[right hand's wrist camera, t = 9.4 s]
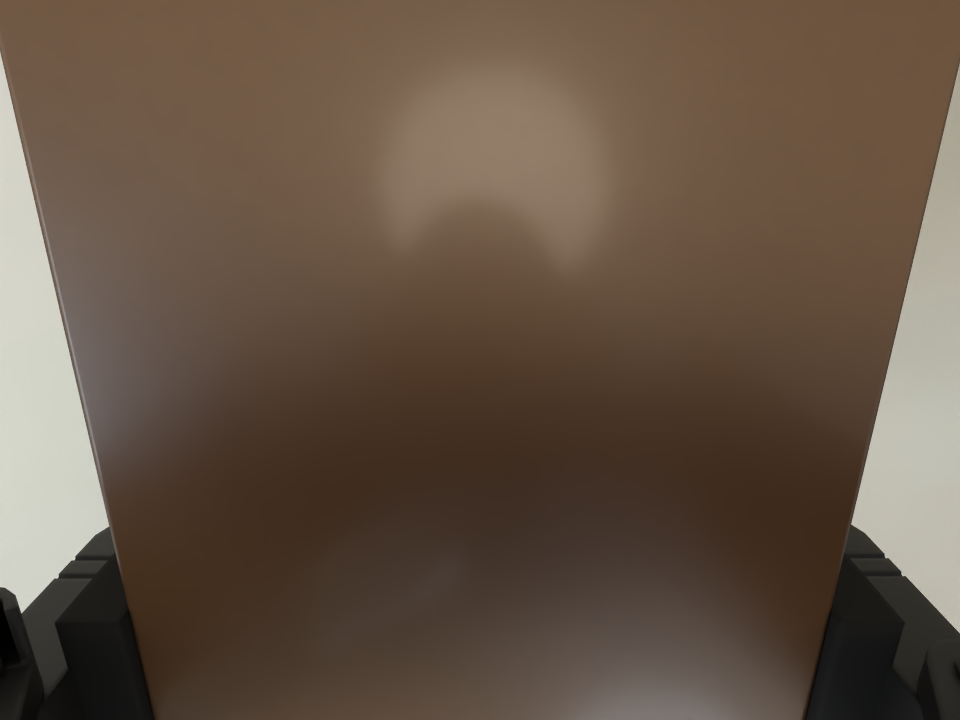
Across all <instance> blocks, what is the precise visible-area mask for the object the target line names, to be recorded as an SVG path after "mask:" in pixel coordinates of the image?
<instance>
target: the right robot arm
mask: <svg viewBox="0 0 960 720" xmlns="http://www.w3.org/2000/svg"><path fill="white" fill-rule="evenodd" d="M884 555H885V554H884V553H883V552H882V551H881V550H880V549H879V548H878V547H877V546H876V545H875V543H874V542H873V541H872V540H871V539H870V538H869V537H868V536H867V535H866V534H865V533H864V532H862V531H861V530H859V529H857V528H856V527H854V526H852V525H851V526H850V530H849V535H848V539H847V543H846V547H845V552H844V556H843V560H842V564H841V569H840V573H839V577H838V581H837V586H836V590H835V594H834V598H833V603H832V607H831V611H830V615H829V620H828V624H827V628H826V632H825V636H824V641H823V645H822V649H821V653H820V658H819V662H818V666H817V670H816V675H815V679H814V683H813V687H812V692H811V696H810V700H809V704H808V709H807V713H806V717H805V720H960V633H959V632H958V631H957V630H956V629H955V628H954V627H953V626H952V625H951V624H950V623H949V622H948V621H947V620H946V619H945V617H944V616H943V615H942V614H941V613H940V612H939V611H938V610H937V609H936V608H935V607H934V606H933V605H932V604H931V603H930V602H929V601H928V599H927V598H926V597H925V596H924V595H923V594H922V593H921V592H920V591H919V590H918V589H917V588H916V587H915V586H914V585H913V584H912V583H911V582H910V580H909V579H908V578H907V577H906V576H902V575H901V571H900V570H899V569H898V568H897V567H896V566H895V565H894V564H893V563H892V561H891V560H890V559H889V558H885V556H884ZM0 720H154V717H153V713H152V709H151V704H150V700H149V696H148V691H147V687H146V683H145V678H144V674H143V670H142V665H141V661H140V656H139V652H138V648H137V643H136V639H135V635H134V630H133V626H132V622H131V617H130V613H129V609H128V604H127V600H126V596H125V591H124V587H123V583H122V578H121V574H120V569H119V565H118V561H117V556H116V552H115V548H114V543H113V539H112V535H111V530H110V526H109V527H108V528H106V529H105V530H103V531H101V532H100V533H98V534H97V535H95V536H94V537H93V538H92V539H91V541H90V542H89V543H88V544H87V545H86V546H85V547H84V548H83V549H82V550H81V551H80V552H79V553H78V554H77V555H76V559H75V561H71V562H70V563H69V564H68V565H67V566H66V567H65V568H64V569H63V570H62V571H61V572H60V573H59V578H58V579H54V580H53V581H52V582H51V583H50V584H49V585H48V586H47V587H46V588H45V589H44V590H43V592H42V593H41V594H40V595H39V596H38V597H37V598H36V599H35V600H34V601H33V602H32V603H31V604H30V605H29V606H28V607H27V609H26V610H25V611H24V612H23V613H22V614H21V611H20V608H19V605H18V602H17V599H16V596H15V595H14V594H13V593H11V592H10V591H9V590H7V589H6V588H1V587H0Z"/></svg>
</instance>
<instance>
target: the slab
mask: <svg viewBox="0 0 960 720" xmlns="http://www.w3.org/2000/svg"><path fill="white" fill-rule="evenodd" d="M0 52H1V56H2V61H3V65H4V69H5V74H6V78H7V82H8V87H9V91H10V95H11V100H12V104H13V108H14V113H15V117H16V121H17V126H18V130H19V135H20V139H21V143H22V148H23V152H24V156H25V161H26V165H27V169H28V174H29V178H30V182H31V187H32V191H33V195H34V200H35V204H36V208H37V213H38V217H39V222H40V226H41V230H42V235H43V239H44V243H45V248H46V252H47V256H48V261H49V265H50V269H51V274H52V278H53V282H54V287H55V291H56V295H57V300H58V304H59V309H60V313H61V317H62V322H63V326H64V330H65V335H66V339H67V343H68V348H69V352H70V356H71V361H72V365H73V369H74V374H75V378H76V382H77V387H78V391H79V396H80V400H81V404H82V409H83V413H84V417H85V422H86V426H87V430H88V435H89V439H90V443H91V448H92V452H93V456H94V461H95V465H96V469H97V474H98V478H99V483H100V487H101V491H102V496H103V500H104V504H105V509H106V513H107V517H108V522H109V526H110V530H111V535H112V539H113V543H114V548H115V552H116V556H117V561H118V565H119V569H120V574H121V578H122V583H123V587H124V591H125V596H126V600H127V604H128V609H129V613H130V617H131V622H132V626H133V630H134V635H135V639H136V643H137V648H138V652H139V656H140V661H141V665H142V670H143V674H144V678H145V683H146V687H147V691H148V696H149V700H150V704H151V709H152V713H153V717H154V720H805V717H806V713H807V709H808V704H809V700H810V696H811V692H812V687H813V683H814V679H815V675H816V670H817V666H818V662H819V658H820V653H821V649H822V645H823V641H824V636H825V632H826V628H827V624H828V620H829V615H830V611H831V607H832V603H833V598H834V594H835V590H836V586H837V581H838V577H839V573H840V569H841V564H842V560H843V556H844V552H845V547H846V543H847V539H848V535H849V530H850V526H851V522H852V518H853V513H854V509H855V505H856V501H857V496H858V492H859V488H860V484H861V479H862V475H863V471H864V467H865V462H866V458H867V454H868V450H869V445H870V441H871V437H872V433H873V428H874V424H875V420H876V416H877V411H878V407H879V403H880V399H881V394H882V390H883V386H884V382H885V378H886V373H887V369H888V365H889V361H890V356H891V352H892V348H893V344H894V339H895V335H896V331H897V327H898V322H899V318H900V314H901V310H902V305H903V301H904V297H905V293H906V288H907V284H908V280H909V276H910V271H911V267H912V263H913V259H914V254H915V250H916V246H917V242H918V237H919V233H920V229H921V225H922V220H923V216H924V212H925V208H926V203H927V199H928V195H929V191H930V186H931V182H932V178H933V174H934V169H935V165H936V161H937V157H938V153H939V148H940V144H941V140H942V136H943V131H944V127H945V123H946V119H947V114H948V110H949V106H950V102H951V97H952V93H953V89H954V85H955V80H956V76H957V72H958V68H959V63H960V0H0Z"/></svg>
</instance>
